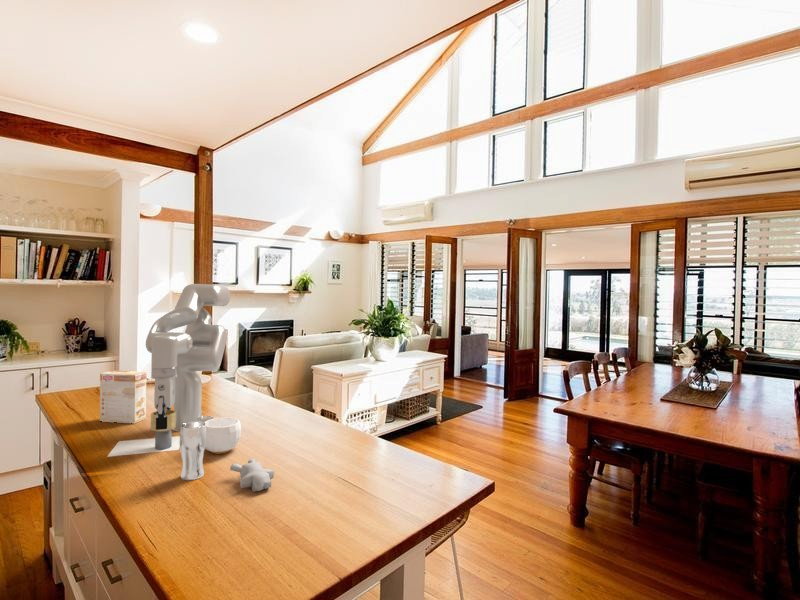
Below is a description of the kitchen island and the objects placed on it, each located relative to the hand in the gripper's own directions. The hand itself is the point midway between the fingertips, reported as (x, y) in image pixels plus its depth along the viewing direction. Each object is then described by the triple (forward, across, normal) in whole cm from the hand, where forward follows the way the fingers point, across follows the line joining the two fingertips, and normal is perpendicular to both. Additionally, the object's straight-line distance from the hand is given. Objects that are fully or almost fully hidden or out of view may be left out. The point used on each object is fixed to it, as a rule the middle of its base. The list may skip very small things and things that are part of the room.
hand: (163, 425), depth 142 cm
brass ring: (+1, 0, 0) cm, 1 cm away
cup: (+9, -6, -18) cm, 21 cm away
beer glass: (+9, -24, -11) cm, 28 cm away
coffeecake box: (+9, +39, +20) cm, 45 cm away
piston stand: (+8, +3, +5) cm, 10 cm away
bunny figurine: (+9, -33, -27) cm, 44 cm away
